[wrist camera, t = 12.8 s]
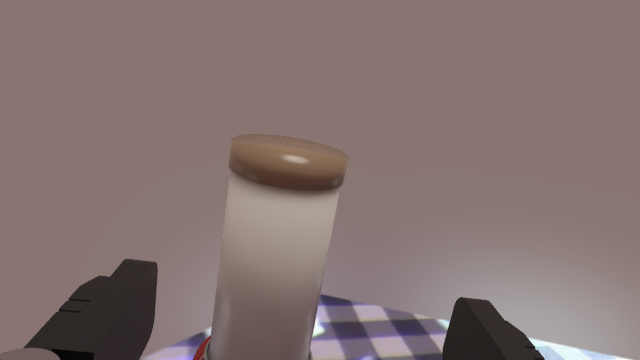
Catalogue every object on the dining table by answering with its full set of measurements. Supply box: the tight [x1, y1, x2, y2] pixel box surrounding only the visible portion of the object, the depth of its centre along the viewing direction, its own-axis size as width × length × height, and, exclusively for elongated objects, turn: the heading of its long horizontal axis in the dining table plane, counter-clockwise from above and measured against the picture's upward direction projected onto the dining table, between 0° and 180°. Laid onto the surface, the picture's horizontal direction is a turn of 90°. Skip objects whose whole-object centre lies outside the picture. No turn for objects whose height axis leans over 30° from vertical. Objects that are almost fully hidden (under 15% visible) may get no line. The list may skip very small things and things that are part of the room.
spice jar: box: [209, 134, 348, 360], centre depth 22 cm, size 5×5×11 cm
